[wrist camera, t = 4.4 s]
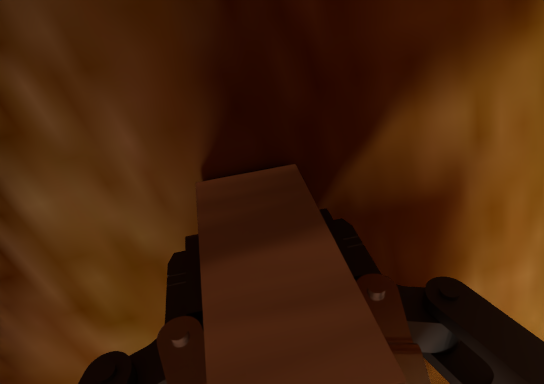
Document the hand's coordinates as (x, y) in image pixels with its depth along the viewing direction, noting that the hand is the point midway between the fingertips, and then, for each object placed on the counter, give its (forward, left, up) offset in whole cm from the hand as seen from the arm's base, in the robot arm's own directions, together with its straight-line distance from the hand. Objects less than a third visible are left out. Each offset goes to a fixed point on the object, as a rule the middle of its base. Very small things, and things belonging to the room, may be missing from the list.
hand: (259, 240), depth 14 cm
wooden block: (0, 0, -2) cm, 2 cm away
